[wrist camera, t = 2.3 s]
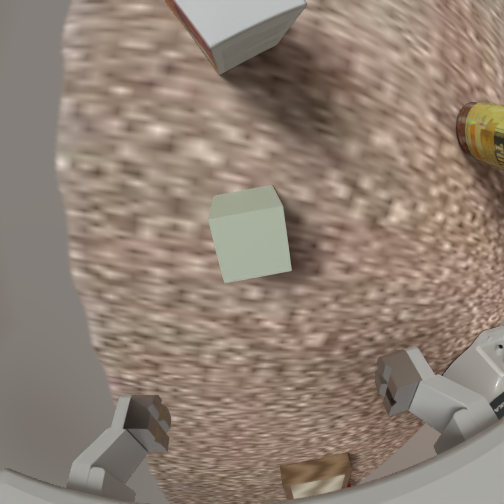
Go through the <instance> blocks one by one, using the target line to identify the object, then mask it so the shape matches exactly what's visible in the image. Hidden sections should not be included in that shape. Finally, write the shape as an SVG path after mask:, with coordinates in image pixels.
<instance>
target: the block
mask: <svg viewBox="0 0 504 504" xmlns="http://www.w3.org/2000/svg"><path fill="white" fill-rule="evenodd" d="M208 220H209V224H210V228H211V233H212V237H213V241H214V245H215V249H216V253H217V257H218V261H219V264H220V268H221V272H222V276H223V280H224V283H227V282H233V281H239V280H244V279H250V278H256V277H261V276H267V275H272V274H278V273H283V272H288V271H292V269H291V261H290V253H289V246H288V238H287V231H286V224H285V217H284V210H283V205H282V203H281V201H280V199H279V197H278V195H277V193H276V191H275V189H274V188H273V186H272V185H269V186H263V187H258V188H252V189H247V190H241V191H236V192H231V193H226V194H221V195H216V196H214V197H213V202H212V206H211V210H210V215H209V219H208Z"/></svg>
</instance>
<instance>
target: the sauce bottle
mask: <svg viewBox="0 0 504 504" xmlns="http://www.w3.org/2000/svg"><path fill="white" fill-rule="evenodd" d="M457 134H458V139H459V142H460V144H461V146H462V148H463V149H464V150H465V151H466V152H467V153H469V154H470V155H472V156H473V157H475V158H476V159H477V160H480V161H482V162H485V163H487V164H490V165H492V166H495V167H498V168H500V169H503V170H504V106H502V105H497V104H490V103H485V102H481V103H477V102H470V103H468V104H466V105H465V106H463V108H462V109H461V110H460V113H459V115H458V117H457Z"/></svg>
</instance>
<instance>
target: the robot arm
mask: <svg viewBox="0 0 504 504" xmlns="http://www.w3.org/2000/svg"><path fill="white" fill-rule="evenodd" d="M377 365H378V367H379V368H378V369H377V370H376V372H375V383H376V387H377V390H378V392H379V394H380V395H382V396H384V401H383V404H384V406H385V409H386V411H387V413H388V415H389V416H391V415H394V414H397V413H400V412H403V411H406V410H409V411H410V412H411V413H413V414H414V415H416V416H417V417H418V418H420V419H421V420H423V421H424V422H426V423H427V424H428V425H430V426H431V427H433V428H434V429H436V430H437V431H438V432H440V433H441V435H440V437H439V438H438V440H437V441H436V443H435V445H434V448H435V451H436V453H437V455H436V456H434V457H432V458H430V459H427V460H425V461H423V462H421V463H418V464H416V465H413V466H411V467H408V468H406V469H404V470H401V471H398V472H395V473H393V474H390V475H387V476H384V477H381V478H379V479H375V480H372V481H369V482H366V483H362V484H359V485H356V486H352V487H348V488H345V489H341V490H337V491H333V492H328V493H324V494H319V495H314V496H309V497H304V498H298V499H292V500H286V501H279V502H271V503H262V504H504V325H503V326H499V327H496V328H492V329H488V330H485V331H483V332H482V333H481V334H480V335H479V336H478V337H477V338H476V340H475V341H474V342H473V344H472V345H471V346H470V347H469V348H468V349H467V350H466V351H465V352H464V353H462V354H461V355H460V356H459V357H458V358H457V359H456V360H455V361H454V362H453V363H452V364H451V365H450V367H449V368H448V369H447V370H446V372H445V373H444V375H443V376H441V375H439V374H437V375H435V374H434V372H433V371H432V369H431V368H430V366H429V365H428V363H427V361H426V360H425V358H424V357H423V355H422V354H421V352H420V351H419V349H418V347H416V346H412V347H409V348H406V349H404V350H399V351H396V352H393V353H390V354H387V355H384V356H381V357H379V358H378V361H377ZM161 402H162V399H161V398H160V397H159V395H122V396H121V397H120V398H119V401H118V404H117V408H116V412H115V415H114V419H113V422H112V426H111V428H108V429H107V430H106V431H105V432H103V434H102V435H100V436H99V437H98V438H97V439H96V440H95V441H94V442H93V443H92V444H91V445H90V446H89V447H88V448H87V449H86V450H85V451H84V452H83V453H82V454H81V455H80V456H79V457H78V458H77V459H76V460H75V461H74V462H73V464H72V468H71V471H70V475H69V479H68V483H67V487H66V488H64V487H61V486H57V485H54V484H51V483H48V482H45V481H42V480H38V479H36V478H33V477H30V476H27V475H25V474H22V473H20V472H17V471H14V470H12V469H9V468H5V469H3V470H1V471H0V504H147V503H139V502H135V495H136V493H135V492H134V490H132V489H131V488H129V487H128V486H126V485H125V483H126V482H127V481H128V479H129V478H130V477H131V475H132V474H133V473H134V471H135V470H136V469H137V467H138V466H139V464H140V463H141V462H142V461H143V459H144V458H145V457H146V455H147V454H148V452H168V444H169V436H168V435H167V434H166V433H167V432H168V430H169V429H170V428H171V416H170V413H169V410H168V408H167V407H166V406H164V405H163V404H161Z"/></svg>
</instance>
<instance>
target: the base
mask: <svg viewBox="0 0 504 504" xmlns="http://www.w3.org/2000/svg"><path fill="white" fill-rule="evenodd" d="M280 471H281V478H282V485H283V488H284V491H285V494H286V497H287V499H288V500H291V499H297V498H303V497H309V496H314V495H319V494H323V493H328V492H332V491H336V490H341V489H344V488H347V485H348V482H349V479H350V475H351V472H352V468H351V464H350V461H349V457H348V453H343V454H339V455H335V456H331V457H326V458H322V459H317V460H312V461H307V462H302V463H296V464H291V465H285V466H280Z"/></svg>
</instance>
